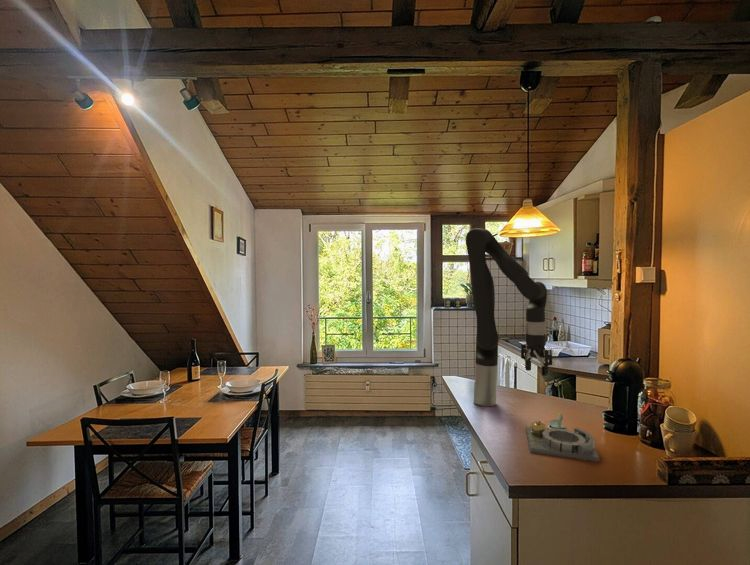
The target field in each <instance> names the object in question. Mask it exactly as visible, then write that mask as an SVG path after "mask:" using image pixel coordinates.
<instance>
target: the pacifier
mask: <svg viewBox="0 0 750 565" xmlns="http://www.w3.org/2000/svg"><path fill="white" fill-rule="evenodd" d="M556 416H557V417H556V419H552V420H550V422H549V424H548V425H547V429H551V428H555V429H556V428H558V429H565V430H568V428H567V427H564V424H563V423H562V421H563V420H564V415H563V413H562V412H559V413H558V414H557V415H556ZM550 426H551V427H550Z"/></svg>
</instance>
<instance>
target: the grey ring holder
mask: <svg viewBox="0 0 750 565" xmlns="http://www.w3.org/2000/svg"><path fill="white" fill-rule="evenodd" d="M545 426H546V425H545V423H543V422H541V421H540V420H535V421H532V422H531V424H530V426H527V425H526V426H525V434H526V439H527V443H529V444H528V448H529V453H533V454H540V455H546V456H553V457H560V458H561V457H562V458H567V457H568V459H574V458H577V459H576V460H581V459H585V460H584V461H588V460H590V461H589V462H596V463H597V462H598V463H600V456H599V454H598V452H597V450H596V448H595V446H596V445H595V444H596V443H595V442H596V440H595V437H594V436H593V435H591V433H590V432H588V431H586V430H584V429H581V428H580V427H579V428H578V427H574V429H573V431H572V430H569V429H558V428H556V429H555V428H553V427H550V428H551V429H548V428H545Z"/></svg>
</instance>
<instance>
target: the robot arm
mask: <svg viewBox="0 0 750 565" xmlns="http://www.w3.org/2000/svg"><path fill="white" fill-rule="evenodd" d="M465 245H466V251H467V255H468V256H467V257H468V261H469V271H470V281H471V294H472V301H473V306H474V311H475V316H476V339H475V340H476V342H475V366H474V368H475V369H474V384H473V386H474V387H473V388H474V389H473V404H475V405H478V406H482V407H495V406H496V405H497V387H498V386H497V384H498V383H497V382H498V364H499V362H498V360H499V358H498V357H499V355H498V354H499V338H500V337H499V332H498V331H497V325H496V320H495V319H496V318H495V304H496V297H495V296H496V295H495V294H496V293H495V292H496V291H495V283H494V278H493V276H492V272H491V271H490V269H489V267H488V264H487V259H486V254H487V255H489V256H490V257H491V258H492V259H493V260H494V262H495V263H496V265H497V267H498V268H499V270H500V271H501V272H502V274H503V275H504V276H505V277H506V278H507V279H508V280H509V281H511V283H513V284H514V285H515V287H516V288H517V290H518V291H519V292H520V294H521V296H523V297H524V298H525V299H527V300H529V301H528V306H527V307H526V309H525V343H523V344H521V348H520V358H521V359H522V360H524V364H525V365H524V366H525V371H531V370H532V361H531V360H532V359H533V358H535V359H536V360H537V361H538V362H539V363H540V365H541V376H543V377H546V376H547V375H549V374H548V373H549V371H548V370H549V366H552V365H553V354H552V353H553V352H552V349H546V344H547V326H546V312H545V309H546V305H547V299H548V288H547V286H546V285H545V284H544V283H543V282H541V281H535V280H533V279H532V278H531V277H530V276H529V272H528V271H527V270H526V269H525V268H524V267H523V266H522V265H521V264H520V263H519V262H518V261H517V260H515V259H514V258H513V257H512V256H511V255H510V254H509V253H508V252H507V251H506V250H505V248H504V247H503V246H502V245H501V244H500V243H499V241H498V240H497V239H496V238H495V236H494V235H493V233H492V232H491V231H490V230H488V229H487V228H478V227H477V228H472V229H469V231H468V232H467V233H466V235H465Z"/></svg>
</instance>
